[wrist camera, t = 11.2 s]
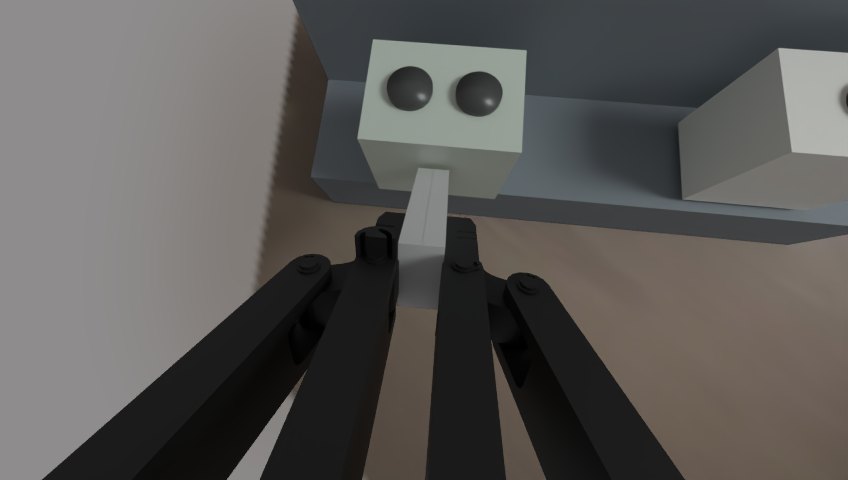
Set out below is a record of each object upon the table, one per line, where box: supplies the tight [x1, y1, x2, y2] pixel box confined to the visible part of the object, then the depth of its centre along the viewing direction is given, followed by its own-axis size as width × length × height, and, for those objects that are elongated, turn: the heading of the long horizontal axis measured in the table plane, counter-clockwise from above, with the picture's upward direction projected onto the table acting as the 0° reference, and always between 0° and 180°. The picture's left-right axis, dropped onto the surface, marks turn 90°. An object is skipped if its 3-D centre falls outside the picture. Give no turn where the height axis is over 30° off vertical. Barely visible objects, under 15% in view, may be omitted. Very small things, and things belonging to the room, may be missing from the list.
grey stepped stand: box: [293, 0, 848, 245], centre depth 19 cm, size 14×34×14 cm, turn 84°
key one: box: [678, 48, 848, 210], centre depth 17 cm, size 5×7×6 cm
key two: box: [357, 39, 527, 199], centre depth 17 cm, size 5×7×6 cm
